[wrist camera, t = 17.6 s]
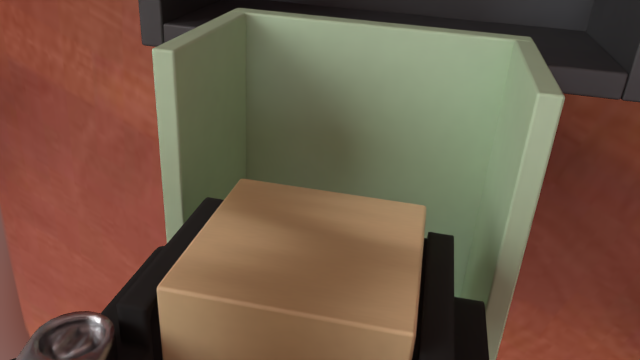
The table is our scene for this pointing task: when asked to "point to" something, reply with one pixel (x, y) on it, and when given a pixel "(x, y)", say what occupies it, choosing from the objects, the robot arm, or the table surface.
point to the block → (296, 279)
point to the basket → (471, 15)
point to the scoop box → (366, 127)
